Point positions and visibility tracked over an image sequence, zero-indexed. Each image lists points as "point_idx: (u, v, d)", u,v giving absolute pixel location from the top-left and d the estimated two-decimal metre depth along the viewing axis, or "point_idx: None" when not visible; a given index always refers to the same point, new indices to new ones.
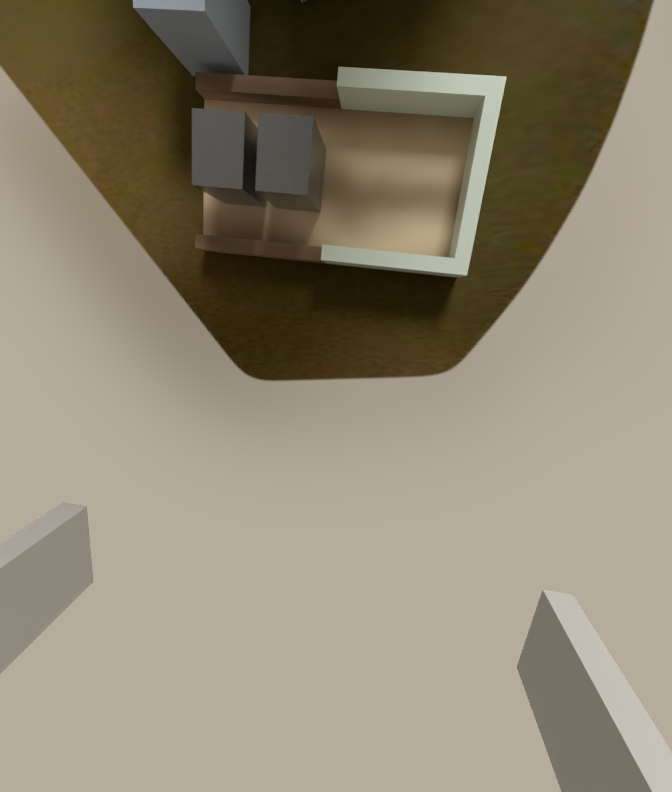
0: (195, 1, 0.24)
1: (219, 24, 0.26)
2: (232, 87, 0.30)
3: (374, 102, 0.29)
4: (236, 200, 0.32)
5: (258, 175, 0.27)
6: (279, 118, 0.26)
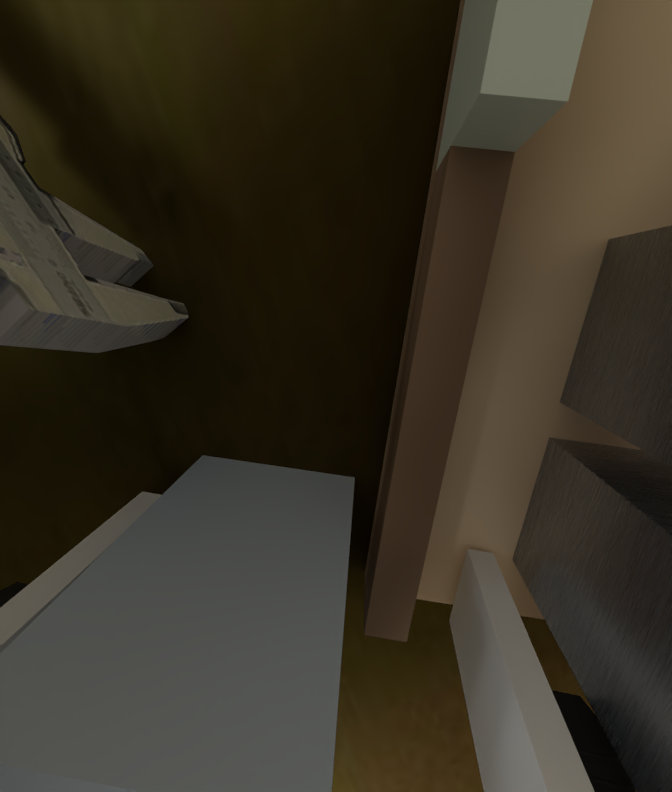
0: None
1: (307, 632, 0.06)
2: (415, 545, 0.09)
3: None
4: None
5: None
6: None
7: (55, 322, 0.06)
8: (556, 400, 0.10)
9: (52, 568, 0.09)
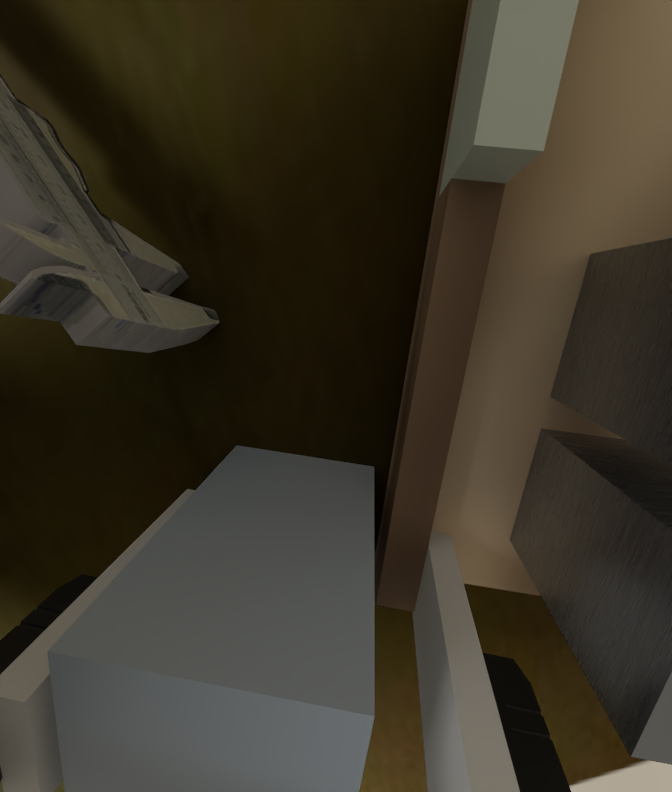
0: (335, 739, 0.05)
1: (344, 585, 0.08)
2: (422, 522, 0.11)
3: None
4: None
5: None
6: None
7: (124, 326, 0.08)
8: (547, 395, 0.11)
9: (117, 561, 0.09)
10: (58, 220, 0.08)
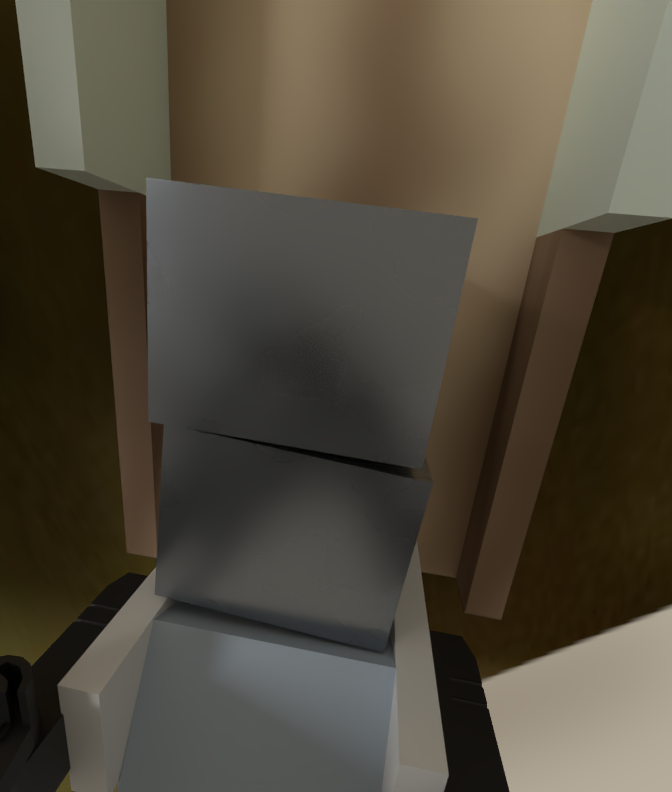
0: (367, 698, 0.07)
1: None
2: (145, 480, 0.13)
3: (135, 71, 0.09)
4: None
5: (365, 449, 0.06)
6: (161, 339, 0.06)
7: None
8: None
9: None
10: None
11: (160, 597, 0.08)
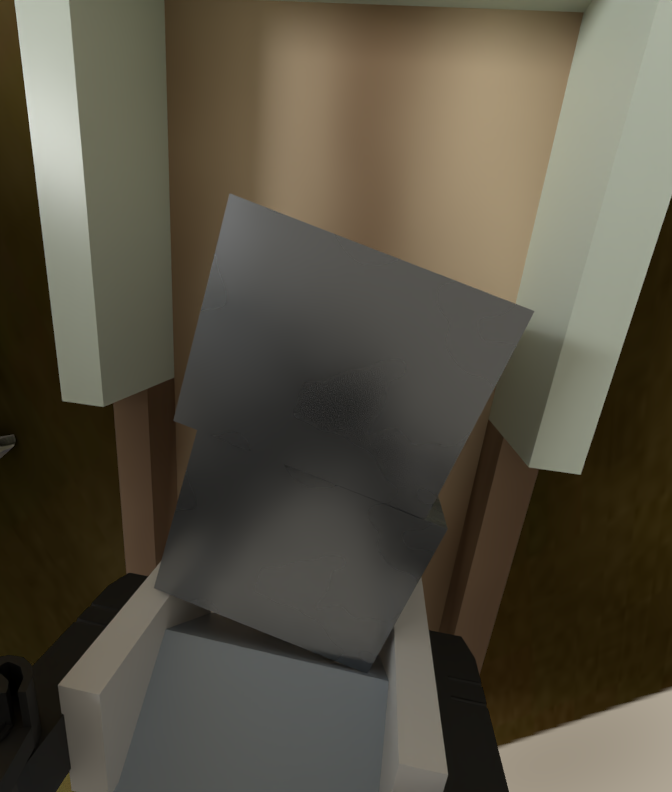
0: (362, 712, 0.07)
1: None
2: None
3: (144, 298, 0.11)
4: None
5: (377, 490, 0.07)
6: (206, 347, 0.06)
7: None
8: None
9: None
10: None
11: (161, 597, 0.08)
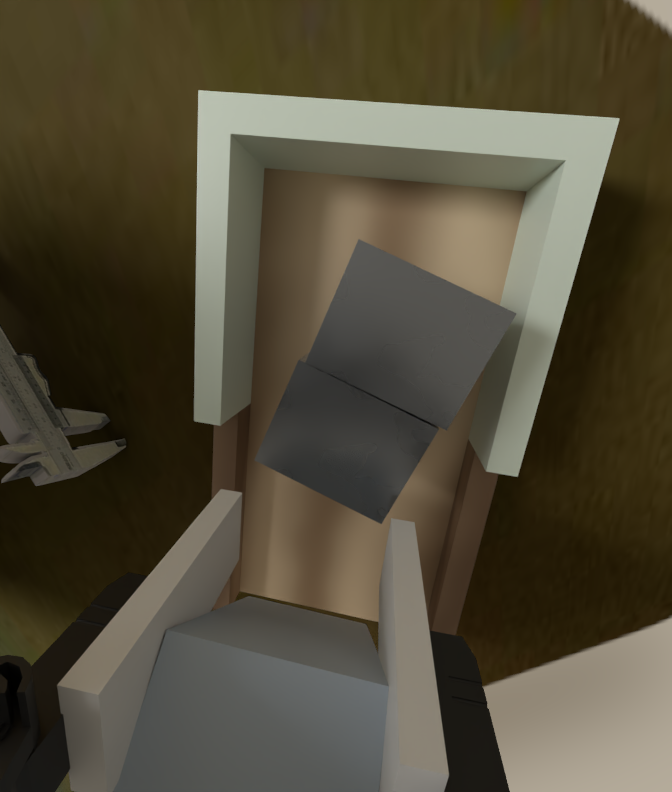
0: (363, 718, 0.07)
1: (357, 653, 0.10)
2: None
3: (241, 354, 0.17)
4: None
5: (420, 411, 0.12)
6: (332, 321, 0.11)
7: (58, 475, 0.17)
8: (296, 498, 0.20)
9: (163, 559, 0.09)
10: (30, 429, 0.17)
11: (160, 597, 0.08)
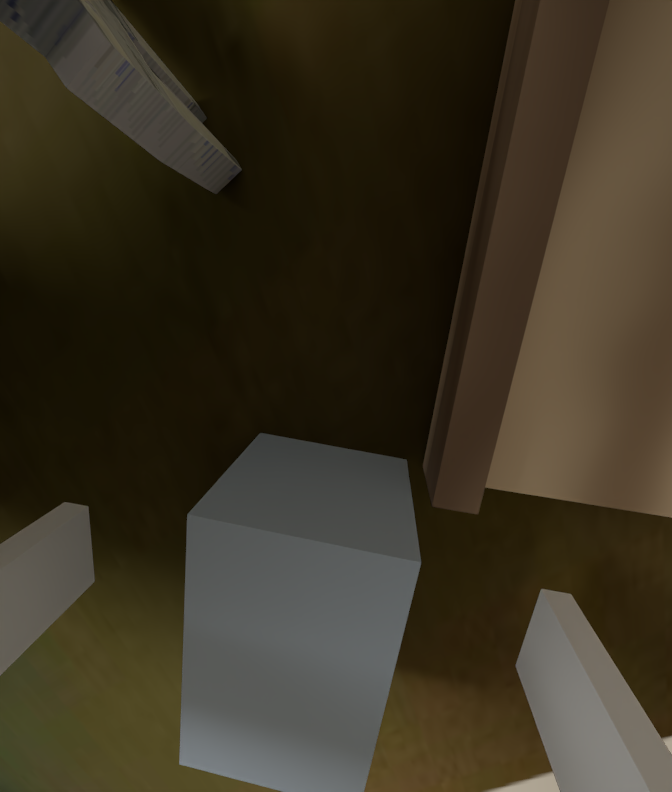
0: (392, 463, 0.12)
1: None
2: (494, 397, 0.09)
3: None
4: None
5: None
6: None
7: (127, 79, 0.06)
8: (647, 247, 0.09)
9: None
10: None
11: None
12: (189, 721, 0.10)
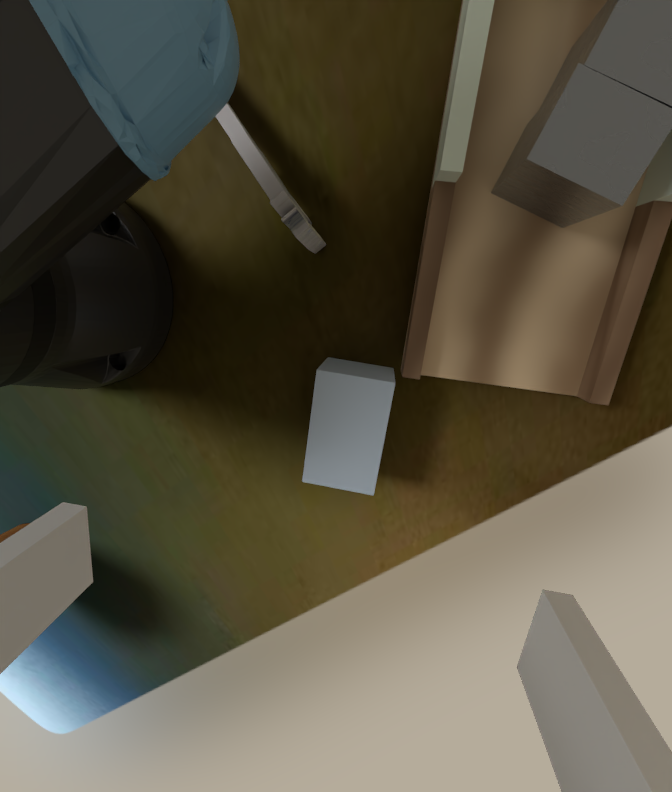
0: (386, 367, 0.27)
1: None
2: (423, 332, 0.24)
3: None
4: None
5: (670, 98, 0.16)
6: (611, 25, 0.16)
7: (309, 232, 0.21)
8: (480, 277, 0.24)
9: None
10: (287, 193, 0.21)
11: None
12: (308, 459, 0.25)
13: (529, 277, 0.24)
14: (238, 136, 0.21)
